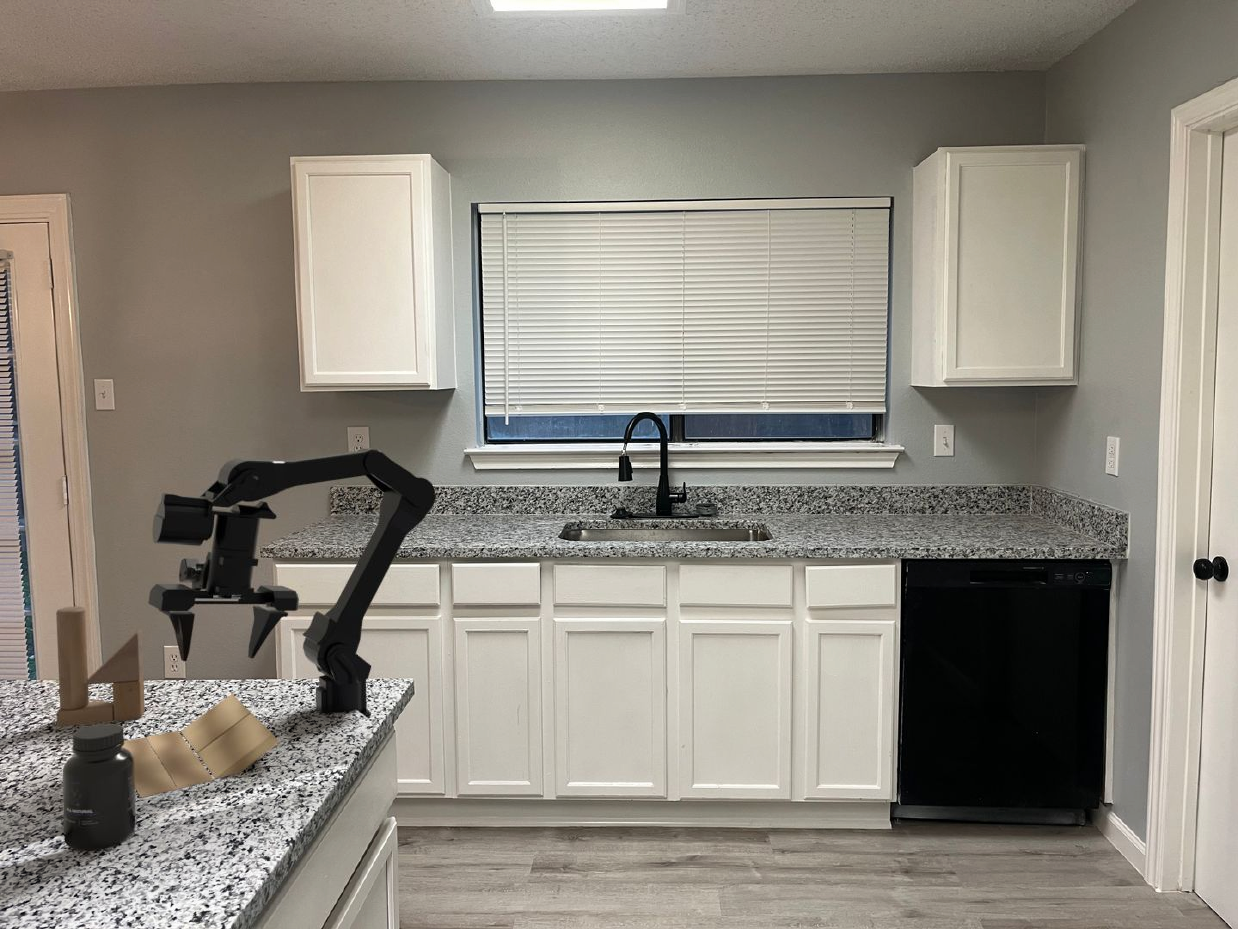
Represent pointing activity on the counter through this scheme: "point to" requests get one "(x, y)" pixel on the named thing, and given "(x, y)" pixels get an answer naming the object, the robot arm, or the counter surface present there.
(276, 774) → the counter surface
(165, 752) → the laid floor row
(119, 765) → the supplement bottle
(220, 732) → the oak plank
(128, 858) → the counter surface
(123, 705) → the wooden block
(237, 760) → the oak plank
